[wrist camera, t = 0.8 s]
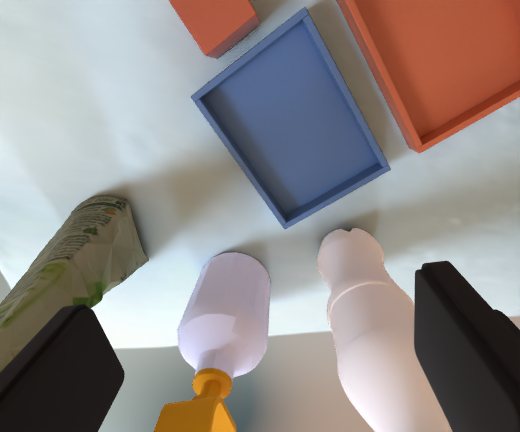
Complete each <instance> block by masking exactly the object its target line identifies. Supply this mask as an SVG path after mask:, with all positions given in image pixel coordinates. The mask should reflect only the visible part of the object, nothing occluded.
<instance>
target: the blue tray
mask: <svg viewBox="0 0 520 432" xmlns="http://www.w3.org/2000/svg"><path fill="white" fill-rule="evenodd" d="M191 98H192V100H193V101H194V102H195V104H196V105H197V107H198V108H199V109H200V111H201V112H202V114H203V115H204V117H205V118H206V119H207V121H208V122H209V124H210V125H211V126H212V128H213V129H214V131H215V132H216V133H217V135H218V136H219V138H220V139H221V140H222V142H223V143H224V145H225V146H226V148H227V149H228V150H229V152H230V153H231V155H232V156H233V157H234V159H235V160H236V162H237V163H238V164H239V166H240V167H241V169H242V170H243V171H244V173H245V174H246V176H247V177H248V179H249V180H250V181H251V183H252V184H253V186H254V187H255V188H256V190H257V191H258V193H259V194H260V195H261V197H262V198H263V200H264V201H265V202H266V204H267V205H268V207H269V208H270V209H271V211H272V212H273V214H274V215H275V217H276V218H277V219H278V221H279V222H280V224H281V225H282V226H283V228H284V229H287V228H288V227H290V226H292V225H294V224H295V223H297V222H299V221H301V220H303V219H304V218H306V217H308V216H310V215H311V214H313V213H315V212H317V211H319V210H320V209H322V208H324V207H326V206H327V205H329V204H331V203H333V202H334V201H336V200H338V199H340V198H342V197H343V196H345V195H347V194H349V193H350V192H352V191H354V190H356V189H357V188H359V187H361V186H363V185H365V184H366V183H368V182H370V181H372V180H373V179H375V178H377V177H379V176H380V175H382V174H384V173H386V172H388V171H389V170H391V168H390V166H389V165H388V163H387V161H386V159H385V157H384V155H383V153H382V151H381V149H380V147H379V146H378V144H377V142H376V140H375V138H374V136H373V134H372V132H371V130H370V128H369V127H368V125H367V123H366V121H365V119H364V117H363V115H362V113H361V111H360V109H359V108H358V106H357V104H356V102H355V100H354V98H353V96H352V94H351V92H350V90H349V89H348V87H347V85H346V83H345V81H344V79H343V77H342V75H341V73H340V71H339V70H338V68H337V66H336V64H335V62H334V60H333V58H332V56H331V54H330V52H329V51H328V49H327V47H326V45H325V43H324V41H323V39H322V37H321V35H320V34H319V32H318V30H317V28H316V26H315V24H314V22H313V20H312V18H311V16H310V15H309V13H308V11H307V9H306V7H304V8H303V9H301V10H300V11H299V12H298V13H296V14H295V15H294V16H293V17H291V18H290V19H289V20H287V21H286V22H285V23H284V24H282V25H281V26H280V27H279V28H277V29H276V30H275V31H273V32H272V33H271V34H270V35H268V36H267V37H266V38H264V39H263V40H262V41H261V42H259V43H258V44H257V45H256V46H254V47H253V48H252V49H250V50H249V51H248V52H247V53H245V54H244V55H243V56H242V57H240V58H239V59H238V60H236V61H235V62H234V63H233V64H231V65H230V66H229V67H228V68H226V69H225V70H224V71H222V72H221V73H220V74H219V75H217V76H216V77H215V78H214V79H212V80H211V81H210V82H208V83H207V84H206V85H205V86H203V87H202V88H201V89H199V90H198V91H197V92H196V93H194V94H193V95H192V96H191Z"/></svg>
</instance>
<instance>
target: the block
mask: <svg viewBox="0 0 520 432" xmlns="http://www.w3.org/2000/svg"><path fill="white" fill-rule="evenodd" d="M169 2H170V3H171V5H172V6H173V8H174V9H175V11H176V12H177V14H178V15H179V17H180V18H181V20H182V21H183V23H184V24H185V26H186V27H187V29H188V30H189V32H190V33H191V35H192V36H193V38H194V39H195V41H196V42H197V44H198V45H199V47H200V49H201V50H202V52H203V53H204V55H206V56H209V57H213V58H216V59H218V58H219V57H220V56H221V55H223V54H224V53H225V52H226V51H228V50H229V49H230V48H231V47H233V46H234V45H235V44H236V43H238V42H239V41H240V40H241V39H243V38H244V37H245V36H246V35H248V34H249V33H250V32H251V31H253V30H254V29H255V28H256V27H257V26H259V25H260V22H259V19H258V16H257V14H256V12H255V10H254V8H253V6H252V5H251V3H250V1H249V0H169Z"/></svg>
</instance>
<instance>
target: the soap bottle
mask: <svg viewBox="0 0 520 432" xmlns="http://www.w3.org/2000/svg"><path fill="white" fill-rule="evenodd" d="M270 283H271V281H270V278H269V275H268V272H267V270H266V269H265V268H264V267H263V266H262V264H261V263H260V262H259V261H257V260H256V259H254V258H252V257H251V256H249V255H246V254H242V253H237V252H231V253H223V254H220V255H218V256H215V257H213V258H211V259H210V260H209V261H208V262H207V263H206V264H205V265H204V266H203V268H202V271H201V273H200V276H199V278H198V280H197V283H196V285H195V288H194V290H193V293H192V295H191V297H190V300H189V302H188V305H187V307H186V310H185V312H184V315H183V317H182V319H181V322H180V324H179V327H178V329H177V330H178V345H179V350H180V352H181V354H182V356H183V358H184V359H185V360H186V361H187V362H188V363H189V364H190V365H191V366H192V367H193V368H194V369H196V372H195V376H194V381H193V384H192V385H193V389H194V391H195V392H196V393H197V394H198V396H195V397H194V398H193V399H192V400H189V401H183V402H175V403H169V404H166V405H164V407H163V409H162V411H161V413H160V416H159V419H158V422H157V424H156V427H155V430H154V432H236V429H237V428H236V426H235V423H234V422H233V419H232V418H231V416H230V413H229V412H228V410H227V408H226V406H225V404H224V402H223V400H222V399H223V398H225V397H226V396H228V395H229V393H230V391H231V386H232V381H233V377H236V376H239V375H242V374H246V373H248V372H249V371H251V370H252V369H253V368H255V367H256V366H257V365H258V363H259V362H260V360H261V358H262V357H263V355H264V353H265V352H266V350H267V340H268V323H269V303H270Z"/></svg>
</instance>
